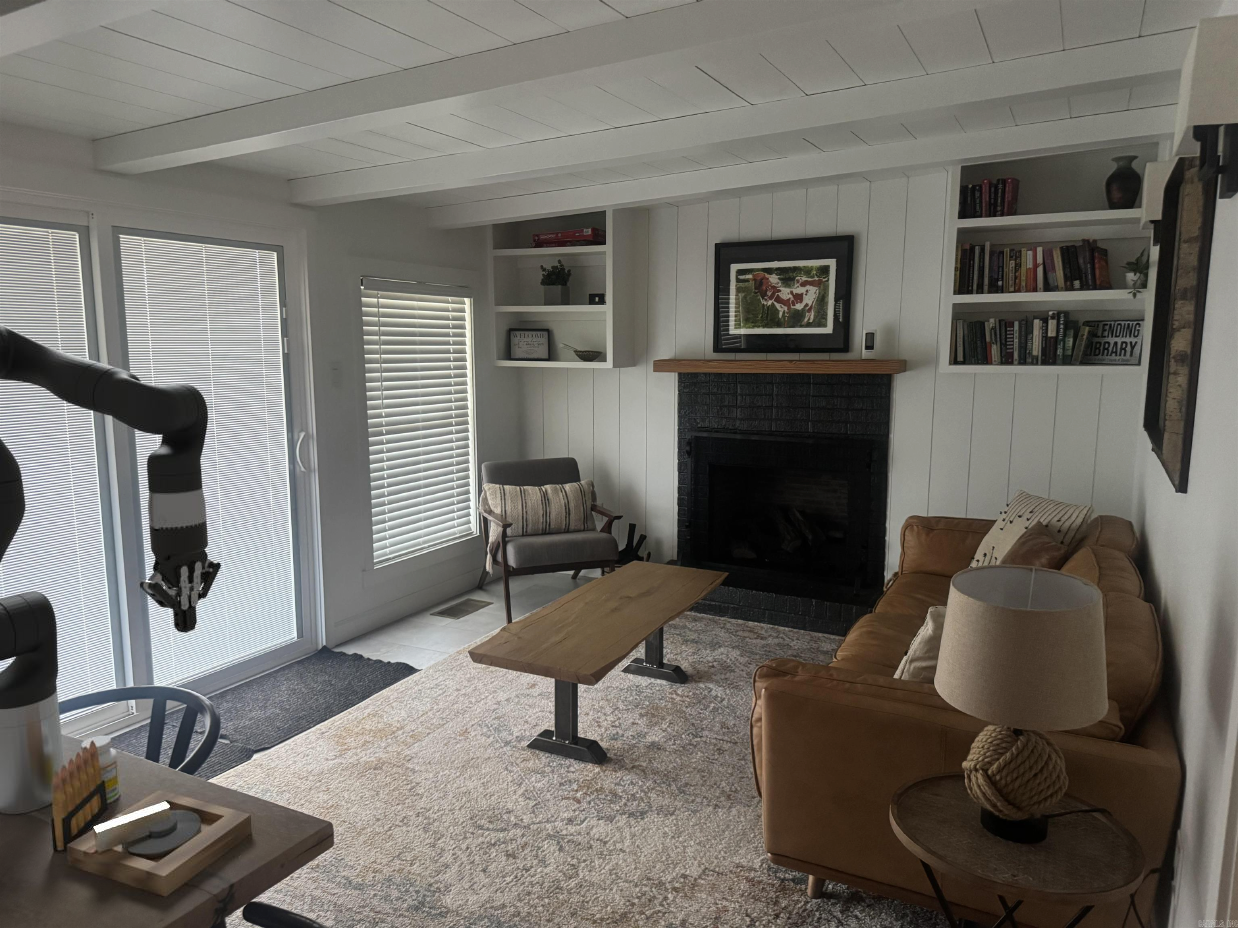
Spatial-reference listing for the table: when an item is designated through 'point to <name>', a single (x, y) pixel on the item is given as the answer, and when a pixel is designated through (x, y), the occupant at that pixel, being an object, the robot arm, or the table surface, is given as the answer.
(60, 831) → the ammunition clip
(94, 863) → the wooden tray
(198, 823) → the dial
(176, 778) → the table surface
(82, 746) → the supplement bottle
